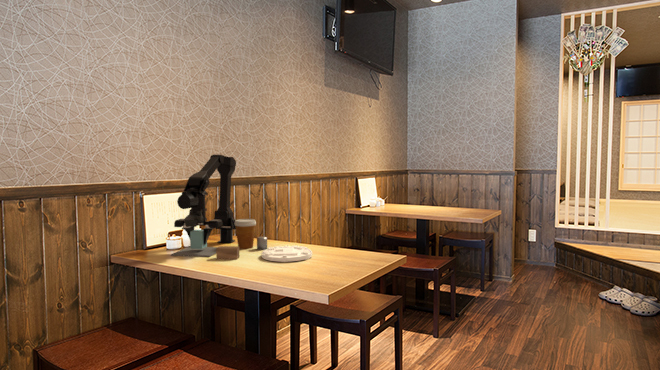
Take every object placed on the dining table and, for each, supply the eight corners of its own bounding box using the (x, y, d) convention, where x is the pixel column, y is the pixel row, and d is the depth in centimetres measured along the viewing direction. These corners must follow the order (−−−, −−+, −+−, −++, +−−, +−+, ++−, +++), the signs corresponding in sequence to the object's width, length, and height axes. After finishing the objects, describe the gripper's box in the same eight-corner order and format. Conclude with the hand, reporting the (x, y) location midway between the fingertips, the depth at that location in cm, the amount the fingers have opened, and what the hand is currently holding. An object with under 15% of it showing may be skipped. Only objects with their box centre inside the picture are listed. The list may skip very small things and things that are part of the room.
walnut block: (219, 257, 168) (219, 246, 168) (239, 257, 168) (239, 246, 168) (216, 259, 165) (216, 248, 164) (237, 259, 164) (237, 248, 164)
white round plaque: (252, 261, 163) (252, 254, 163) (274, 250, 182) (274, 244, 181) (301, 265, 157) (301, 257, 157) (319, 253, 176) (318, 246, 176)
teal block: (195, 246, 180) (195, 229, 179) (207, 246, 179) (206, 229, 179) (190, 248, 175) (190, 231, 174) (202, 248, 174) (201, 231, 174)
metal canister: (258, 247, 186) (258, 236, 186) (268, 248, 186) (268, 236, 186) (255, 249, 182) (255, 238, 182) (265, 250, 181) (265, 238, 181)
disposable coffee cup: (232, 246, 189) (232, 219, 189) (253, 244, 193) (253, 218, 193) (237, 250, 181) (236, 222, 180) (259, 248, 185) (259, 221, 184)
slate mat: (189, 247, 186) (189, 246, 186) (224, 248, 184) (224, 247, 184) (171, 255, 170) (171, 254, 170) (209, 257, 168) (209, 255, 168)
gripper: (167, 208, 169) (167, 247, 170) (212, 209, 167) (212, 248, 168) (180, 205, 180) (181, 242, 181) (222, 206, 178) (223, 243, 179)
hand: (198, 244), depth 177 cm, fingers open, 5 cm apart
